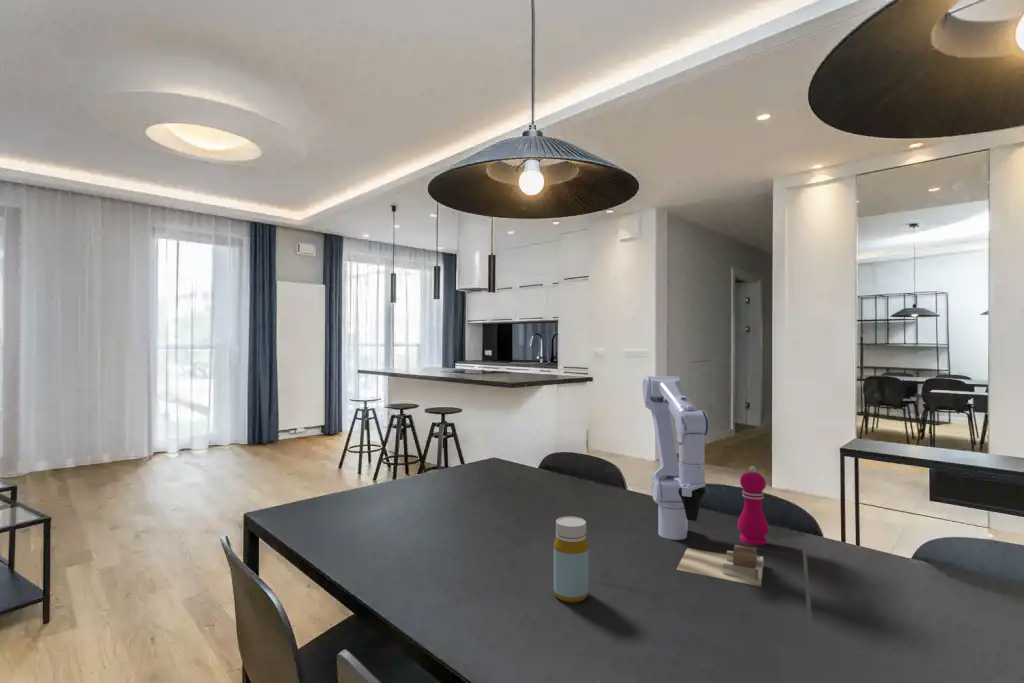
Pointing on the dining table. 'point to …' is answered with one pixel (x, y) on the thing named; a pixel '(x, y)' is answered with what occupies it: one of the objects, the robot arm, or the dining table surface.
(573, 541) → the bottle
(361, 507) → the dining table surface
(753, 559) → the block
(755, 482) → the pepper mill
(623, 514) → the dining table surface
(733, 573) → the board
